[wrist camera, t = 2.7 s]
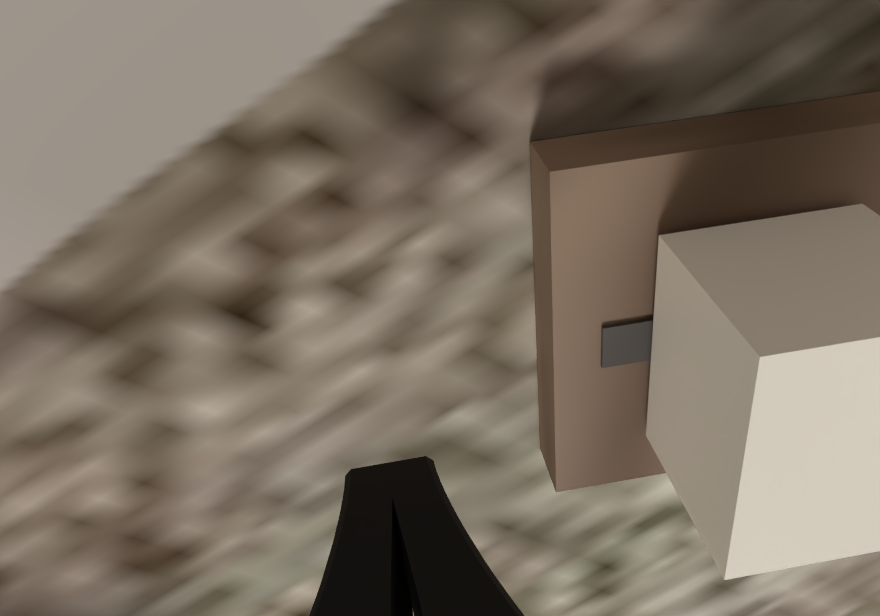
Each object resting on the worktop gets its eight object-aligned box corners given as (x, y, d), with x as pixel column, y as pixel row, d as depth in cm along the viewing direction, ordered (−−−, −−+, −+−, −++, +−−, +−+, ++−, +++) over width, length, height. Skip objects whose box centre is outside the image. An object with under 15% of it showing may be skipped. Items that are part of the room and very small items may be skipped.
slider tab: (862, 203, 15) (1018, 314, 12) (818, 405, 18) (934, 541, 14) (659, 235, 15) (760, 357, 11) (645, 435, 17) (724, 580, 14)
